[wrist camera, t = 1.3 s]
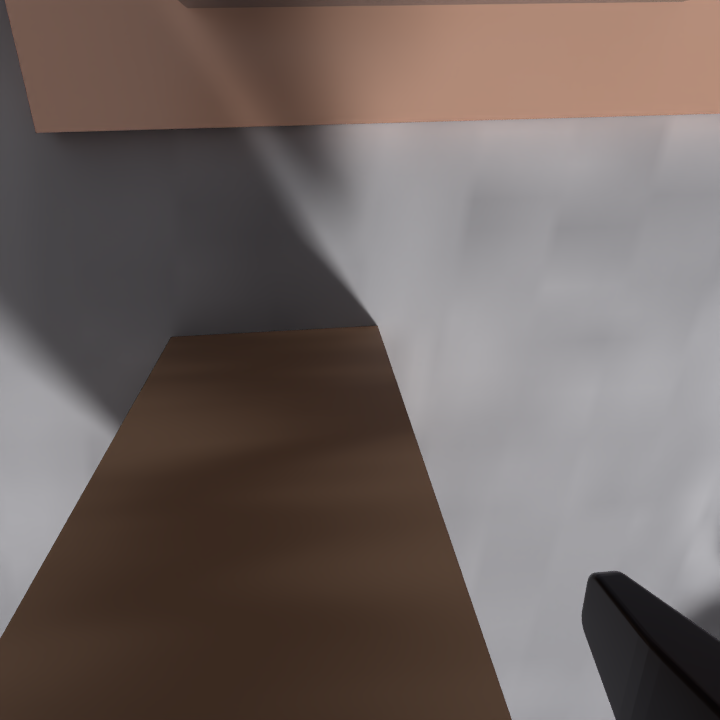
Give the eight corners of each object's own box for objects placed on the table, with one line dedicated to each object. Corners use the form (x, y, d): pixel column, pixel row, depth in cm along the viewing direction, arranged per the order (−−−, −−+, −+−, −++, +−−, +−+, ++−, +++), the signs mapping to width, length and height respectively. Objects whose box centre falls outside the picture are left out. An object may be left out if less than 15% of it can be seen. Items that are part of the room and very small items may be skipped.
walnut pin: (377, 325, 13) (519, 742, 4) (379, 491, 14) (482, 1009, 6) (171, 336, 12) (-99, 812, 4) (199, 505, 14) (53, 1072, 6)
